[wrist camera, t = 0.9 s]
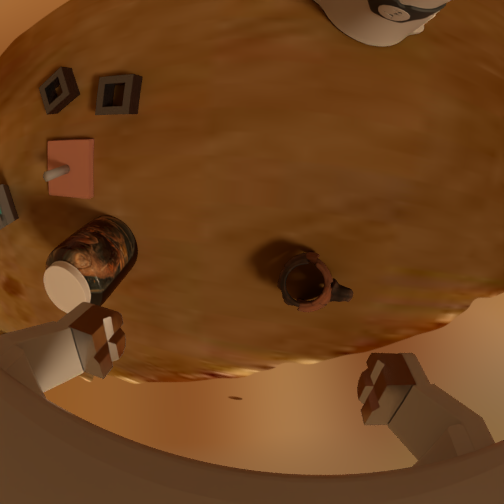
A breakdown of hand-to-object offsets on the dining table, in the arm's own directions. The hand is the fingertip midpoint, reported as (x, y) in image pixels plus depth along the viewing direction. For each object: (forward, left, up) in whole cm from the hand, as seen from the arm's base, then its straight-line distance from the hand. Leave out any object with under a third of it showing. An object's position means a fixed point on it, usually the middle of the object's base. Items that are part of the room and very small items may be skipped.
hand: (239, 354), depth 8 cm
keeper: (+3, -33, -34) cm, 47 cm away
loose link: (-11, -36, -34) cm, 51 cm away
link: (-9, -23, -34) cm, 42 cm away
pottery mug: (+16, +11, -34) cm, 39 cm away
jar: (+17, -25, -34) cm, 45 cm away
